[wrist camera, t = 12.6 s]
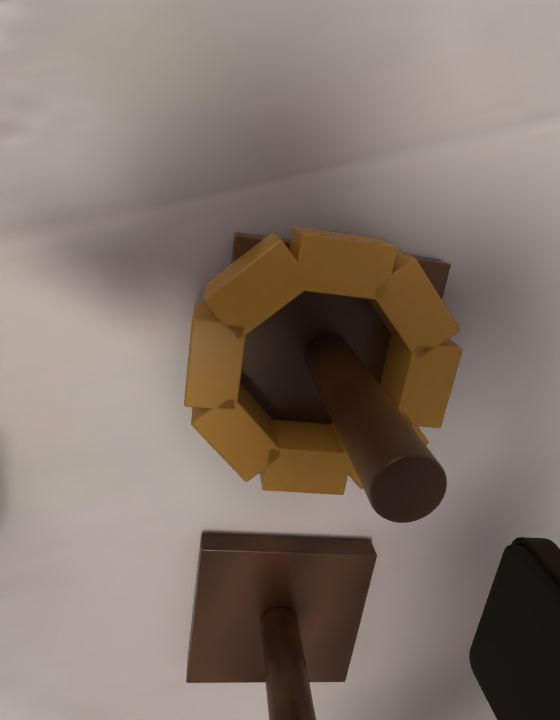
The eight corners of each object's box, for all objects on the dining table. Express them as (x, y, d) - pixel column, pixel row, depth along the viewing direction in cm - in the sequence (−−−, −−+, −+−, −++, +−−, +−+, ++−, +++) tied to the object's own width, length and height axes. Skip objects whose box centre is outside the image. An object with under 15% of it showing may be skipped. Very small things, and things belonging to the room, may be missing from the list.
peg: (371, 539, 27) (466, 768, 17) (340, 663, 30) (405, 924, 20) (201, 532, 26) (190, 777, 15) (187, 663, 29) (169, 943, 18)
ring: (457, 249, 21) (488, 259, 19) (400, 467, 24) (420, 499, 22) (203, 212, 19) (201, 218, 17) (180, 451, 23) (176, 485, 20)
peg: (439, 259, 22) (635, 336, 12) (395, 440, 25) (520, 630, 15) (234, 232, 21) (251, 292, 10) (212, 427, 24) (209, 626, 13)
